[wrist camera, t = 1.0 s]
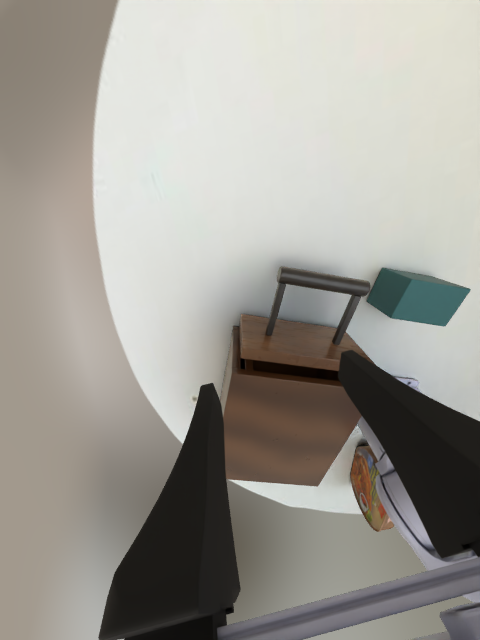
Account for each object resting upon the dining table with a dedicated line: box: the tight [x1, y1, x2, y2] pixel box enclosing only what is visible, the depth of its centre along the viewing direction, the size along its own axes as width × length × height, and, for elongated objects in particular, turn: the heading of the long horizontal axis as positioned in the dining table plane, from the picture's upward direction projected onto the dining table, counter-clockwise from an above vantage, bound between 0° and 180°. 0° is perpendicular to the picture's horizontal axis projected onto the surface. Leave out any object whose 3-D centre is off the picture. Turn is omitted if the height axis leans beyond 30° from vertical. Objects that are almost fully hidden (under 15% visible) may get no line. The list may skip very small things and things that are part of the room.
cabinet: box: [220, 326, 362, 486], centre depth 26 cm, size 17×14×9 cm
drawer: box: [240, 266, 375, 381], centre depth 24 cm, size 22×12×7 cm, turn 170°
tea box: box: [367, 268, 471, 326], centre depth 22 cm, size 6×4×4 cm, turn 80°
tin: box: [351, 446, 394, 532], centre depth 35 cm, size 15×3×8 cm, turn 6°
